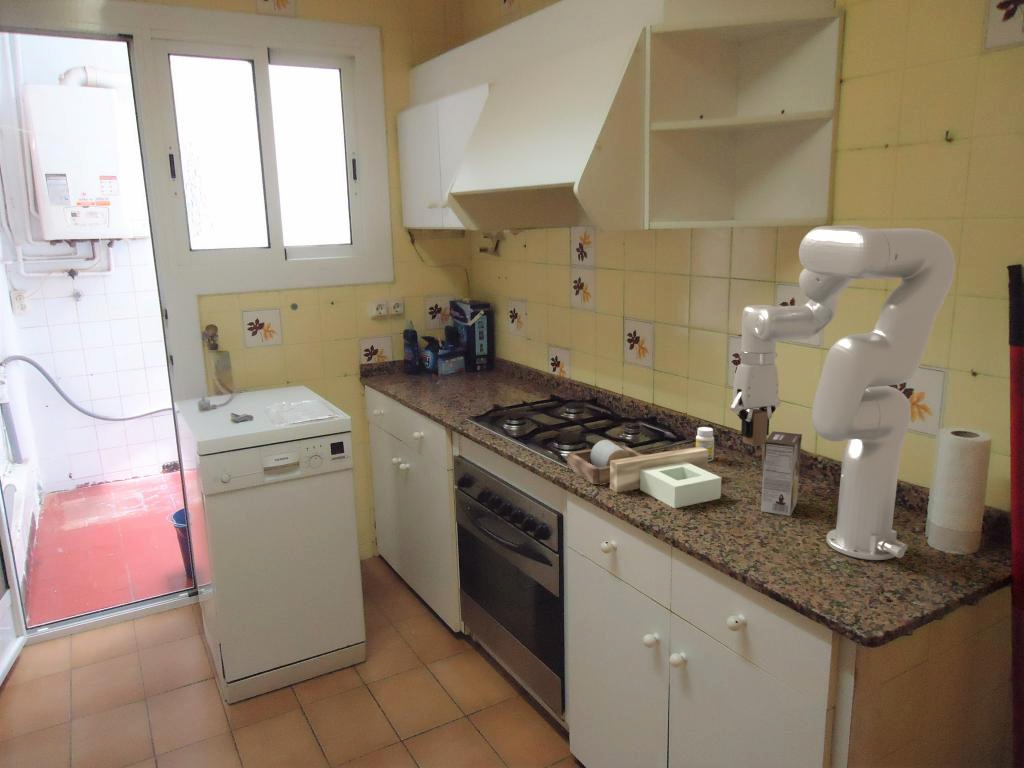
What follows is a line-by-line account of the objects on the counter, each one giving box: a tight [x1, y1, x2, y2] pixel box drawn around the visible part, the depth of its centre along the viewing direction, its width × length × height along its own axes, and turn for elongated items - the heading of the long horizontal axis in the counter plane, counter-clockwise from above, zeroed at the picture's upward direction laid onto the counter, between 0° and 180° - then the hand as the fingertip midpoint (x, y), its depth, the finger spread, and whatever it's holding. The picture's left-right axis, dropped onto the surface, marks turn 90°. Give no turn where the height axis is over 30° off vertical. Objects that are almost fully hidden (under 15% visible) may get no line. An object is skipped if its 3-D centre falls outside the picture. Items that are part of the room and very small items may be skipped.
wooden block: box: [742, 408, 768, 447], centre depth 168 cm, size 4×4×8 cm
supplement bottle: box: [695, 426, 715, 462], centre depth 189 cm, size 5×5×8 cm
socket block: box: [639, 461, 722, 509], centre depth 165 cm, size 13×13×5 cm
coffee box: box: [760, 430, 803, 517], centre depth 156 cm, size 9×6×16 cm
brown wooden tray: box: [566, 444, 644, 485], centre depth 181 cm, size 15×17×4 cm
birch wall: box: [609, 446, 709, 494], centre depth 172 cm, size 3×26×7 cm, turn 113°
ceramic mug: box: [591, 439, 629, 468], centre depth 181 cm, size 11×8×8 cm
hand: (754, 434), depth 168 cm, fingers closed on wooden block, 4 cm apart
